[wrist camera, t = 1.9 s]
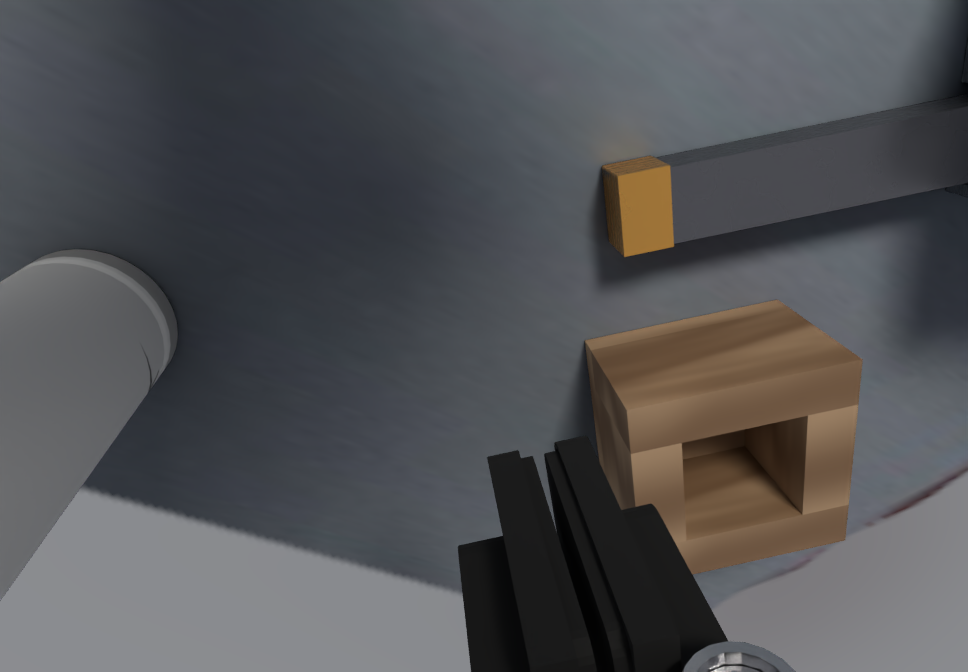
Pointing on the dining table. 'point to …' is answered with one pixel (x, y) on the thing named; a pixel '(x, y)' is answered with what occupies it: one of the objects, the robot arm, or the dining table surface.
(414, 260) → the dining table surface
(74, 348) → the travel mug
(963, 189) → the socket block
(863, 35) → the dining table surface
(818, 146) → the bar
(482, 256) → the dining table surface
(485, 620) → the robot arm
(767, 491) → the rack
